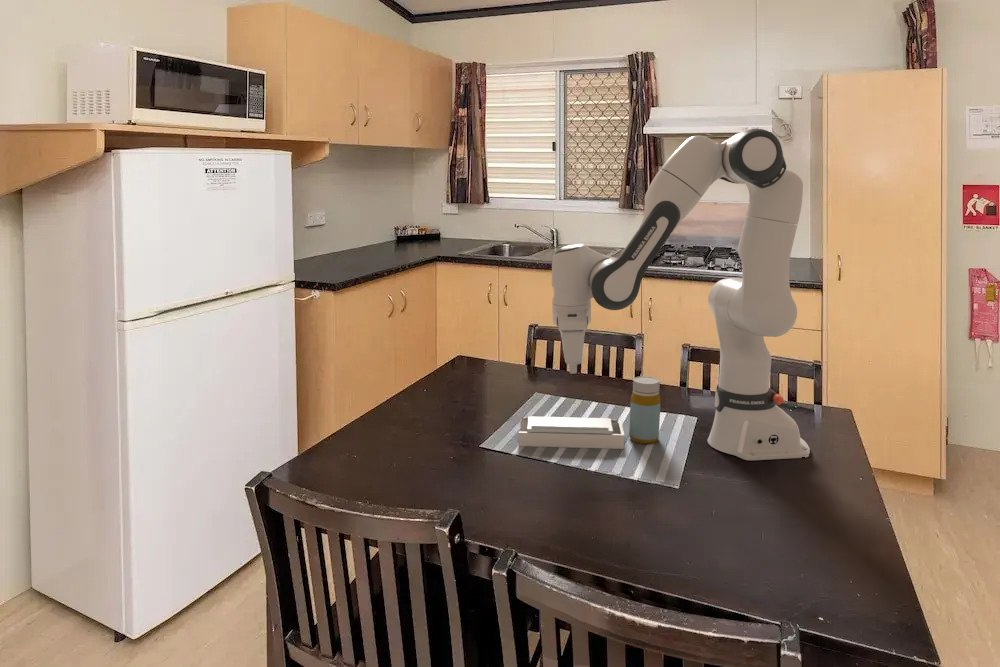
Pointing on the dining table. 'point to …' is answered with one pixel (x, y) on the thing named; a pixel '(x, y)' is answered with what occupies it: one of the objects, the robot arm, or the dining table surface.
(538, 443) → the white long shallow tray
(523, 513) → the dining table surface
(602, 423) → the cover
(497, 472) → the dining table surface
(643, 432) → the bottle
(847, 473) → the dining table surface
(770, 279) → the robot arm
